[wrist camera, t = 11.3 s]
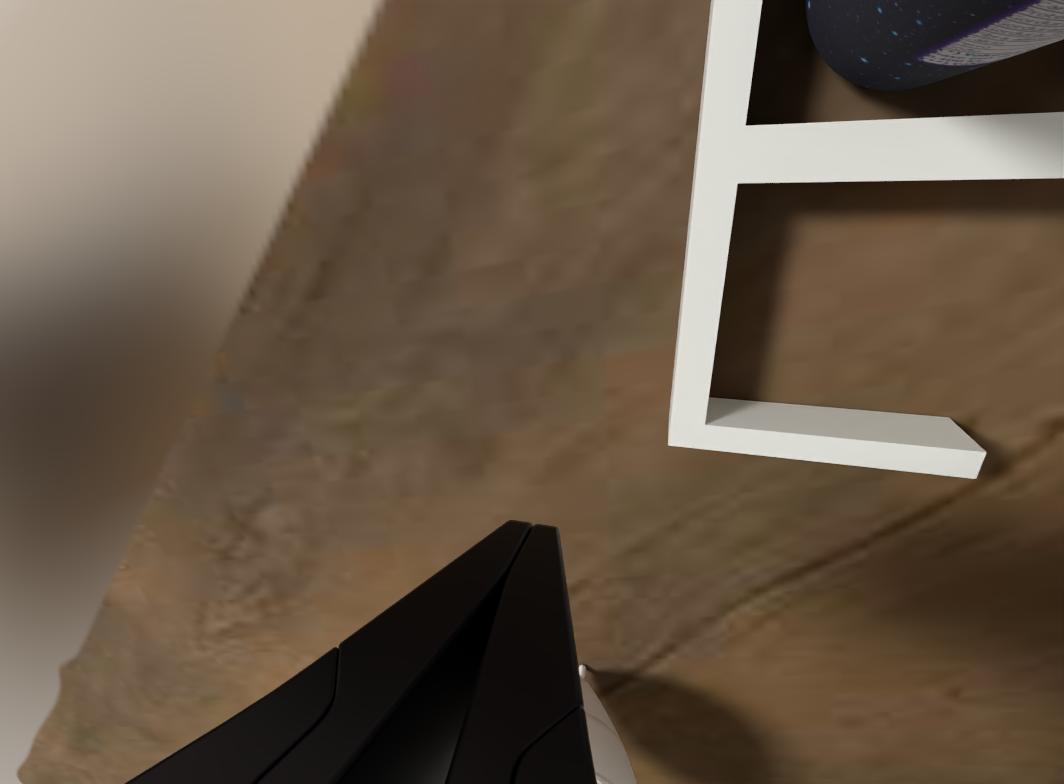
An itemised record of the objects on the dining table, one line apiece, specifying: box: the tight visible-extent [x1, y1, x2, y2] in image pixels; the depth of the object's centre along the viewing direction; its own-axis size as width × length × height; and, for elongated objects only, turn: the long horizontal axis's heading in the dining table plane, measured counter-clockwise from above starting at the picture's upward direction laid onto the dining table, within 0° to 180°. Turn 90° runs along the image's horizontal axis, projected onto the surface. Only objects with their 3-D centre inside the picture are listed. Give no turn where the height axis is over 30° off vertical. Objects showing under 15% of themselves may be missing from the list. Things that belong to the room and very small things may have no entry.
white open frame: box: [668, 0, 1064, 479], centre depth 14 cm, size 10×20×2 cm, turn 2°
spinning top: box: [579, 665, 637, 784], centre depth 23 cm, size 8×8×12 cm
